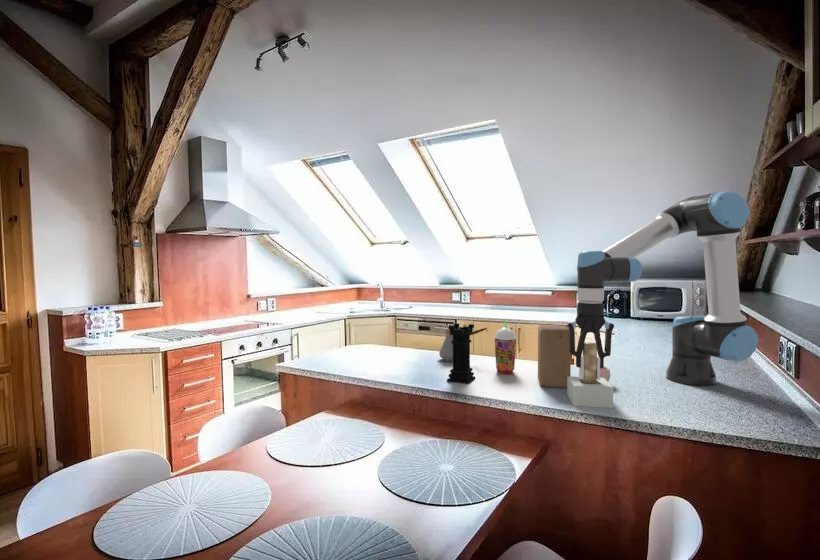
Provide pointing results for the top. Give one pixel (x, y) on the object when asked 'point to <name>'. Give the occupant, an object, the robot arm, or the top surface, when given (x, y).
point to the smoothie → (505, 350)
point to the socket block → (590, 393)
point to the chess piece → (461, 354)
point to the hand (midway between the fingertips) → (589, 378)
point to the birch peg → (590, 363)
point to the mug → (605, 373)
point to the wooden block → (553, 355)
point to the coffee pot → (451, 346)
